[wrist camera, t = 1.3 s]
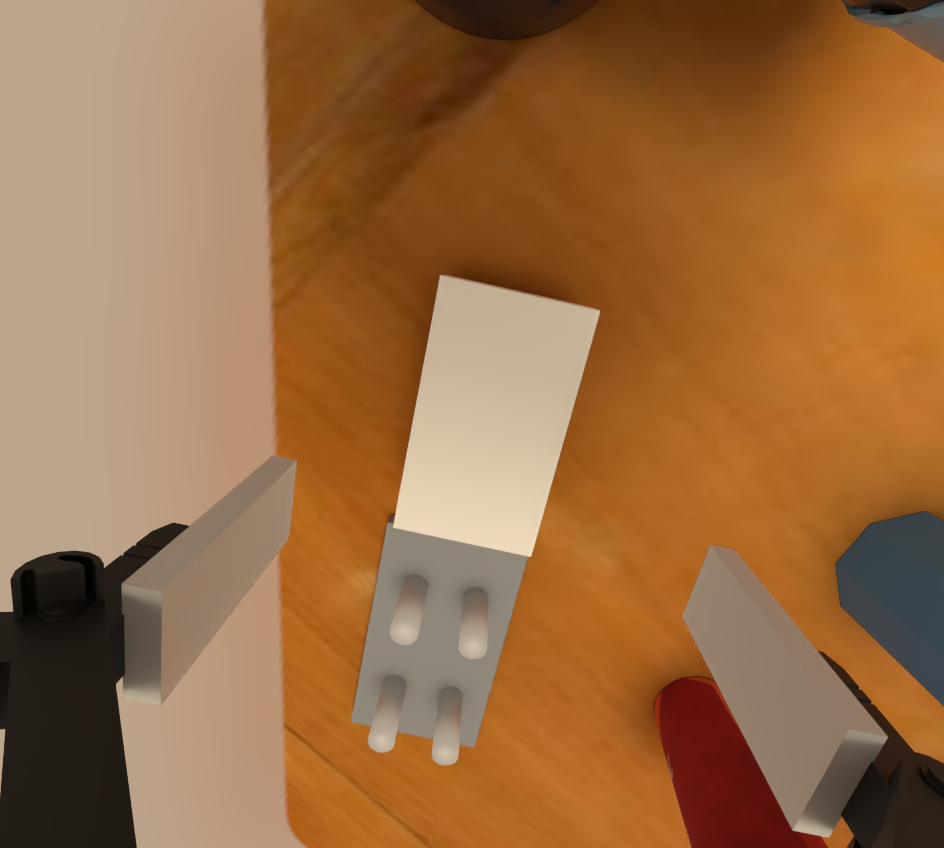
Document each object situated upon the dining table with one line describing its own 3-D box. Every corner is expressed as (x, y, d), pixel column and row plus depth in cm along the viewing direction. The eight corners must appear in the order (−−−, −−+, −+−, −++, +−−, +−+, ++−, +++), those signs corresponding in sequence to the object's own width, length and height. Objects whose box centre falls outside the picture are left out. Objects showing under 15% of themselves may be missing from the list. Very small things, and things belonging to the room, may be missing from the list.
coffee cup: (623, 732, 41) (691, 980, 27) (663, 652, 39) (761, 876, 24) (721, 759, 42) (840, 1017, 27) (766, 681, 39) (923, 918, 25)
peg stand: (390, 514, 36) (370, 561, 31) (528, 543, 37) (534, 596, 31) (354, 709, 42) (331, 782, 36) (474, 734, 42) (471, 810, 36)
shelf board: (445, 274, 28) (440, 274, 25) (589, 306, 28) (600, 310, 25) (402, 504, 32) (392, 527, 29) (527, 531, 32) (531, 557, 29)
